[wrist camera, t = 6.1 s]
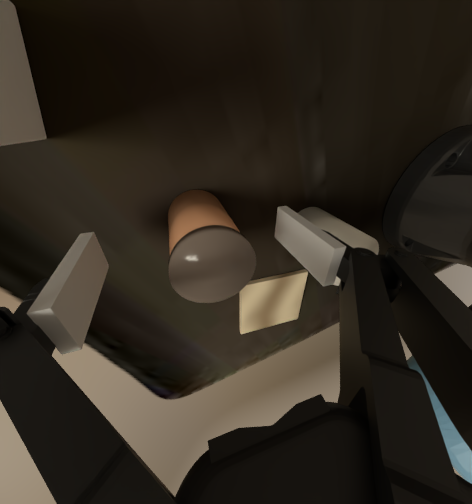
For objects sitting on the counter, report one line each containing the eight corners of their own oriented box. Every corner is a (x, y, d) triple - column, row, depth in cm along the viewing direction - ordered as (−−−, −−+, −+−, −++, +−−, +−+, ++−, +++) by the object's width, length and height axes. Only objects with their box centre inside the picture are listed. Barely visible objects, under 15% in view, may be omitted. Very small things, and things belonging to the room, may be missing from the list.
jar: (222, 185, 18) (257, 224, 11) (226, 237, 21) (255, 292, 14) (160, 192, 16) (158, 240, 10) (173, 246, 19) (178, 311, 13)
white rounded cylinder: (330, 204, 22) (387, 232, 17) (321, 243, 25) (367, 279, 19) (289, 209, 21) (335, 242, 15) (284, 250, 24) (321, 290, 18)
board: (305, 269, 26) (308, 271, 26) (295, 315, 31) (297, 318, 31) (239, 283, 24) (241, 286, 24) (239, 330, 29) (241, 334, 29)
